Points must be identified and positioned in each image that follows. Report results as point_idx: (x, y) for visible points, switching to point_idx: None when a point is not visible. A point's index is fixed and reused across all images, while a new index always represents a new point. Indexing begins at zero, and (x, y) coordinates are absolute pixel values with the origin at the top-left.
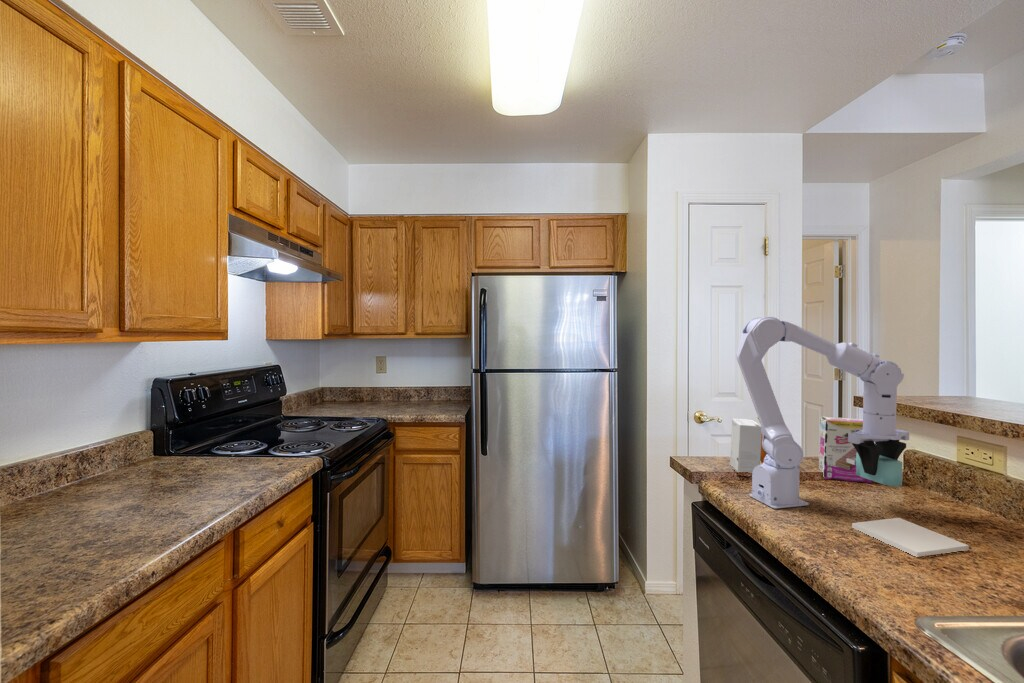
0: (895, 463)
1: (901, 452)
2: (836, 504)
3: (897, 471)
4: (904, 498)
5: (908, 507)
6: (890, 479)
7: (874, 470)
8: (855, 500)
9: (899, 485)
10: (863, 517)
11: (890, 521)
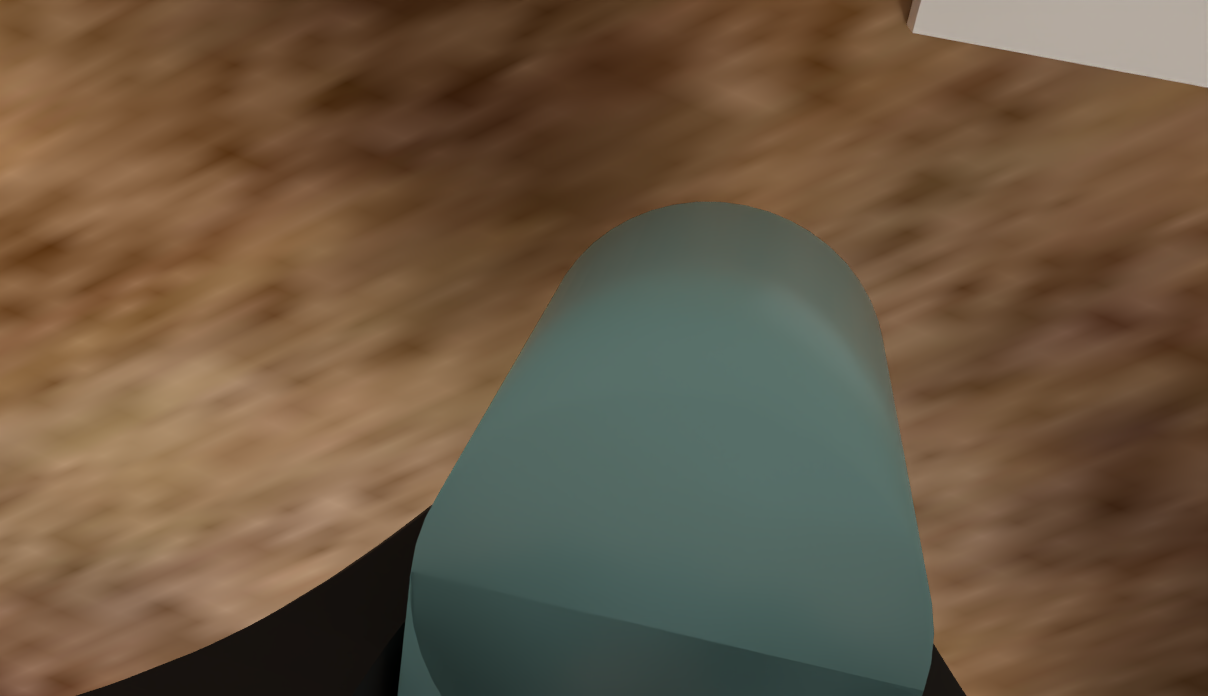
0: (828, 460)
1: (103, 694)
2: (970, 609)
3: (794, 332)
4: (57, 378)
5: (282, 227)
6: (876, 341)
7: (933, 644)
8: None
9: (752, 209)
10: (1133, 290)
11: (1184, 2)
